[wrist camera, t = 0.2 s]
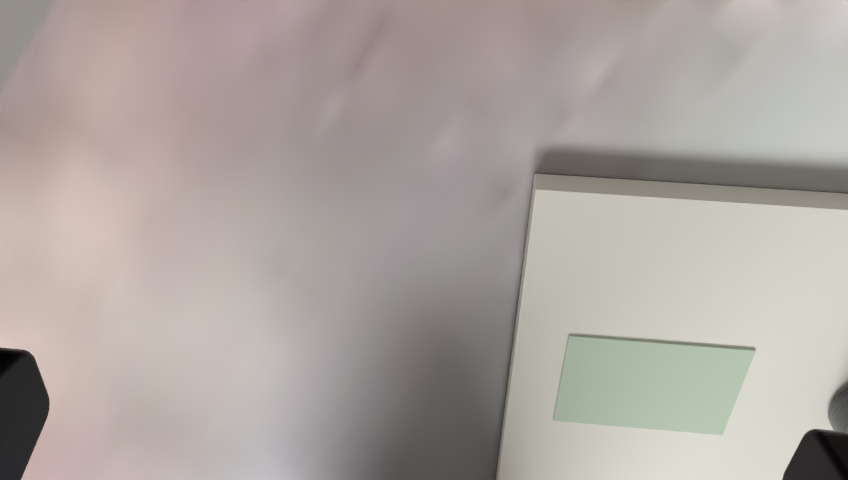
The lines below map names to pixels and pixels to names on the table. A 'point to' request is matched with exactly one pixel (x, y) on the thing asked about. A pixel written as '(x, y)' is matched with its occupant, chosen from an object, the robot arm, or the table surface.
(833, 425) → the bar
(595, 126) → the table surface
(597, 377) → the board
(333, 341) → the table surface
